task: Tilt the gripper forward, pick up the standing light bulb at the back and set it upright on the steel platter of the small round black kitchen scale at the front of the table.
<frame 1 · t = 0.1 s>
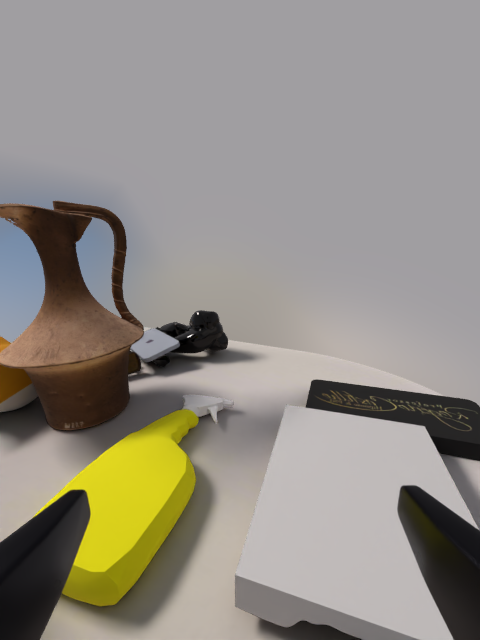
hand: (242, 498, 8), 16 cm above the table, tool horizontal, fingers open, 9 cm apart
spray bottle: (161, 467, 30), on the table
nameplate: (398, 438, 32), point 1 cm above the table
smartphone: (164, 351, 52), point 4 cm above the table, touching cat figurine, figurine
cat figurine: (177, 355, 61), on the table, touching smartphone
figurine: (119, 367, 50), point 2 cm above the table, touching smartphone, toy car
pitcher: (92, 408, 41), on the table
toy: (21, 406, 43), on the table
food packaging: (354, 511, 25), on the table
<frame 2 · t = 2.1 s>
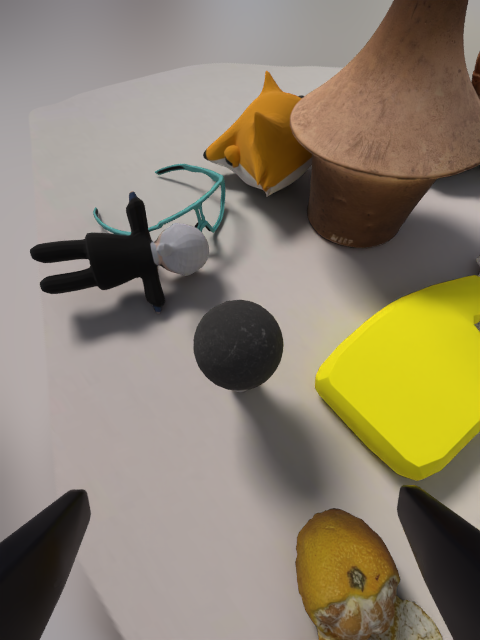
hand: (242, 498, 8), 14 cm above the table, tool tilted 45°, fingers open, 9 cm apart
spray bottle: (440, 343, 26), on the table
fruit: (344, 606, 17), on the table
light bulb: (240, 381, 24), on the table
pitcher: (353, 217, 34), on the table
figurine 2: (34, 271, 24), point 5 cm above the table, touching green eyeglasses
toy: (275, 181, 39), on the table
green eyeglasses: (165, 216, 35), on the table, touching figurine 2
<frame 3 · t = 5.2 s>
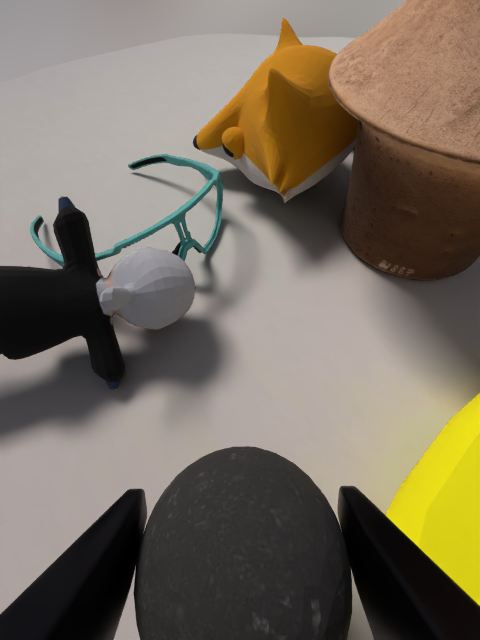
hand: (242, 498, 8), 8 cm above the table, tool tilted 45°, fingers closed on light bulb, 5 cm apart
light bulb: (244, 524, 14), on the table, touching gripper
pitcher: (405, 231, 24), on the table
toy: (292, 179, 28), on the table
green eyeglasses: (138, 228, 25), on the table, touching figurine 2
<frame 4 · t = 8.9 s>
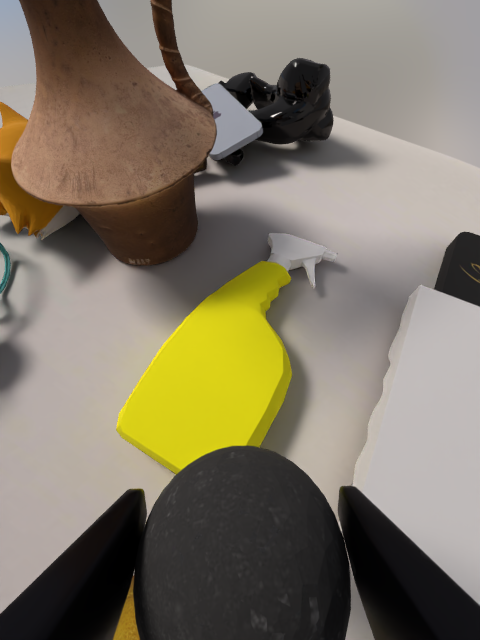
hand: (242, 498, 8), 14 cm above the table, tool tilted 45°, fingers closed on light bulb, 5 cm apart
spray bottle: (247, 336, 26), on the table
light bulb: (243, 523, 14), point 6 cm above the table, touching gripper
smartphone: (240, 144, 35), point 4 cm above the table, touching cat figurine, figurine
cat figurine: (252, 140, 42), on the table, touching smartphone
pitcher: (154, 231, 33), on the table
toy: (71, 212, 36), on the table
food packaging: (471, 442, 22), on the table, touching nameplate
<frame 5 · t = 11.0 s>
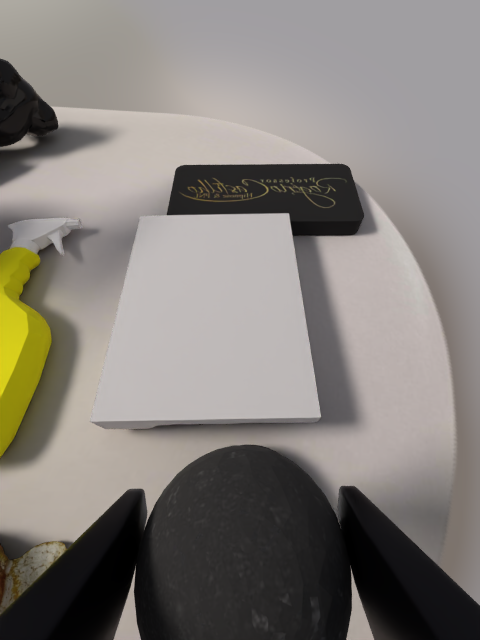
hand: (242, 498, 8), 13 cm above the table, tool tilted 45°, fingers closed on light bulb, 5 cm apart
spray bottle: (12, 322, 27), on the table
nameplate: (264, 229, 30), point 1 cm above the table
light bulb: (244, 523, 14), point 6 cm above the table, touching gripper
food packaging: (214, 315, 27), on the table
when the fingers open (10 cm above the table, at t = 12.9 s): light bulb stays where it is, resting on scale.
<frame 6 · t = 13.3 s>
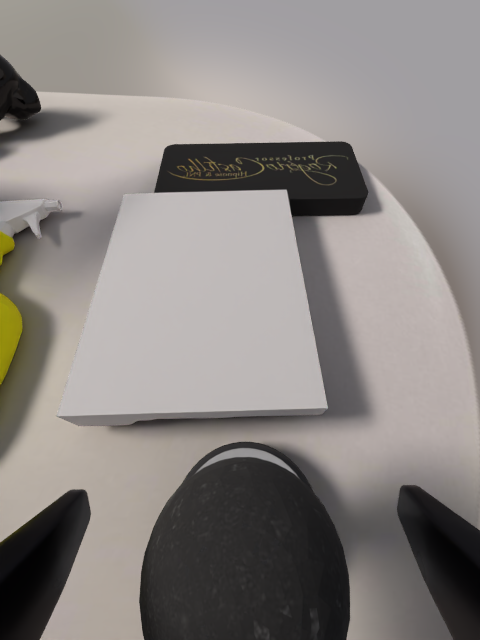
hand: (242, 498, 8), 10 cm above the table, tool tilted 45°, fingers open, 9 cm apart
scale: (245, 520, 16), on the table
nameplate: (260, 209, 28), point 1 cm above the table
light bulb: (245, 530, 14), point 2 cm above the table, touching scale
food packaging: (206, 300, 24), on the table
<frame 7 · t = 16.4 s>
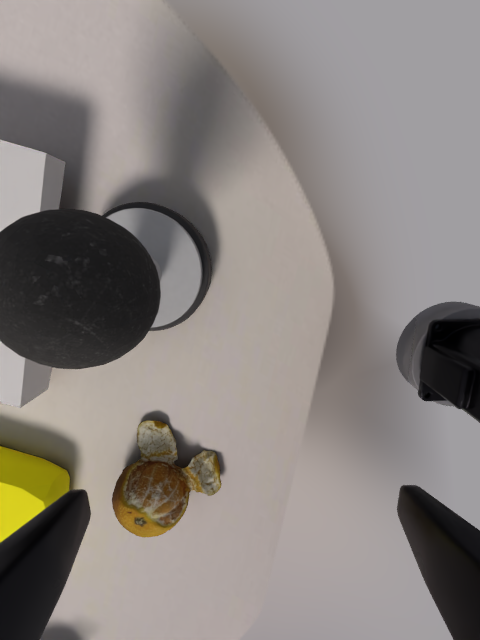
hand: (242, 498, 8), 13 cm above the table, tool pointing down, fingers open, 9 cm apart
fruit: (174, 467, 24), on the table
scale: (153, 268, 19), on the table
light bulb: (146, 272, 17), point 2 cm above the table, touching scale
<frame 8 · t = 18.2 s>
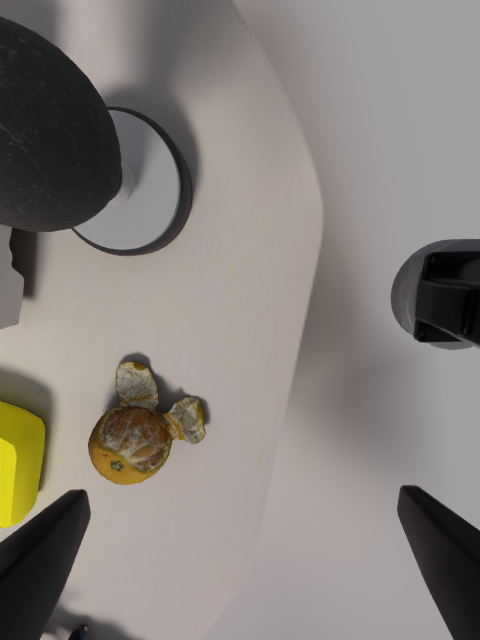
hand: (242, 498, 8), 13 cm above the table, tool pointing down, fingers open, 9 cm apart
fruit: (156, 416, 22), on the table
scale: (129, 190, 18), on the table
light bulb: (119, 185, 16), point 2 cm above the table, touching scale
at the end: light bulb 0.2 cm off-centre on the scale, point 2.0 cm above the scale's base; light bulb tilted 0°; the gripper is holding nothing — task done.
